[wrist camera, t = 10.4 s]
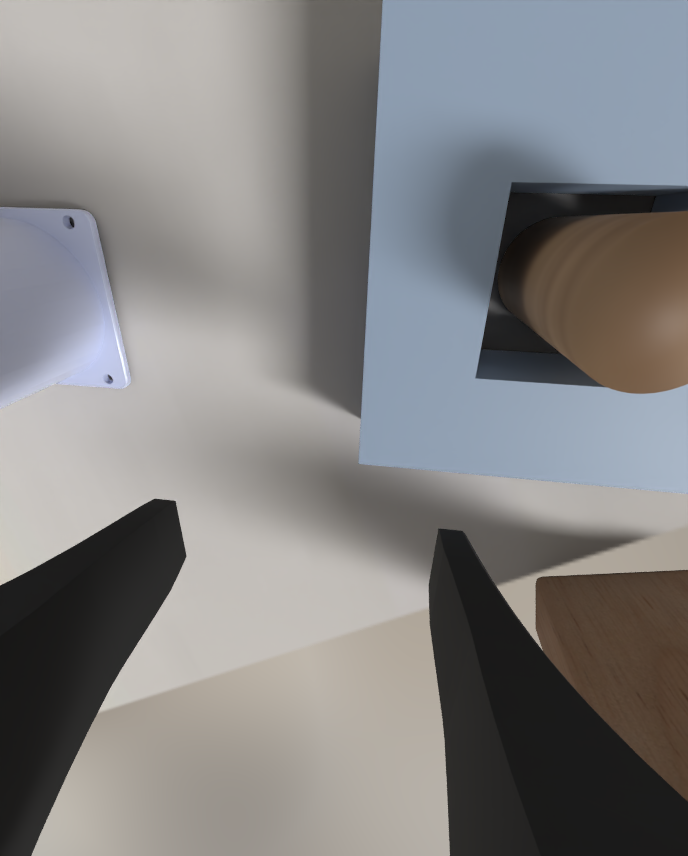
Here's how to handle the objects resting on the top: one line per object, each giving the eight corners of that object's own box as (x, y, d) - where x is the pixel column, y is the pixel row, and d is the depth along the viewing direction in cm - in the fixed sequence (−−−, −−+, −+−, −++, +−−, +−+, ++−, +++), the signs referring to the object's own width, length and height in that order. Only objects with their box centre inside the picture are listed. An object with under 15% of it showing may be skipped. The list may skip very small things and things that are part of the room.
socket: (366, 421, 20) (358, 464, 17) (387, 53, 14) (382, -5, 10) (666, 446, 19) (728, 497, 15) (844, 48, 12) (1021, -21, 9)
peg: (493, 325, 17) (556, 394, 10) (503, 221, 16) (587, 218, 9) (593, 321, 17) (733, 392, 10) (615, 212, 15) (807, 202, 8)
